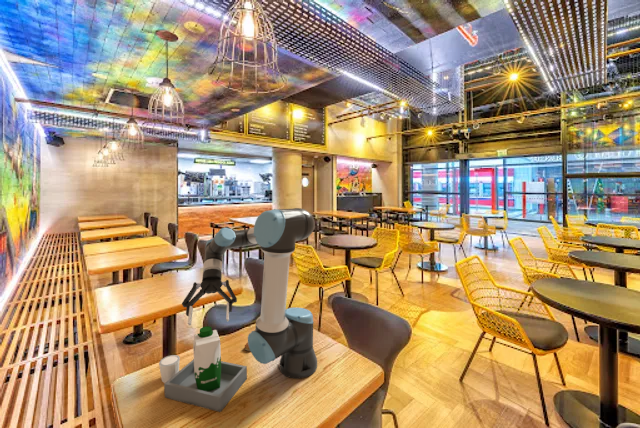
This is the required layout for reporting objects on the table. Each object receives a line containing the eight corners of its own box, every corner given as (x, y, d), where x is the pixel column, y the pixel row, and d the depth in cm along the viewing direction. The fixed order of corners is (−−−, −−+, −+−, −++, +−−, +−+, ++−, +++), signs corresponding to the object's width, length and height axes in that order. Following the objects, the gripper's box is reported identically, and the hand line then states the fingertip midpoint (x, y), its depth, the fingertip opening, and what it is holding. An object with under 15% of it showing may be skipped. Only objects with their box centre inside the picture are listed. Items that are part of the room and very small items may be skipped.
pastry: (249, 354, 118) (249, 346, 118) (241, 348, 122) (240, 340, 122) (267, 345, 125) (267, 337, 125) (258, 340, 129) (258, 332, 129)
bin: (246, 378, 103) (246, 366, 102) (220, 412, 87) (220, 397, 87) (197, 368, 109) (197, 356, 108) (164, 397, 93) (164, 383, 93)
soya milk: (218, 373, 104) (217, 323, 102) (223, 388, 96) (221, 334, 94) (193, 381, 100) (191, 328, 98) (196, 397, 92) (194, 341, 90)
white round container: (157, 385, 99) (156, 367, 98) (162, 373, 105) (161, 356, 105) (178, 382, 101) (177, 364, 100) (182, 370, 107) (181, 353, 107)
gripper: (242, 274, 123) (243, 321, 110) (182, 278, 117) (174, 329, 104) (242, 265, 117) (242, 314, 104) (178, 269, 111) (170, 322, 98)
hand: (208, 322), depth 104 cm, fingers open, 13 cm apart
